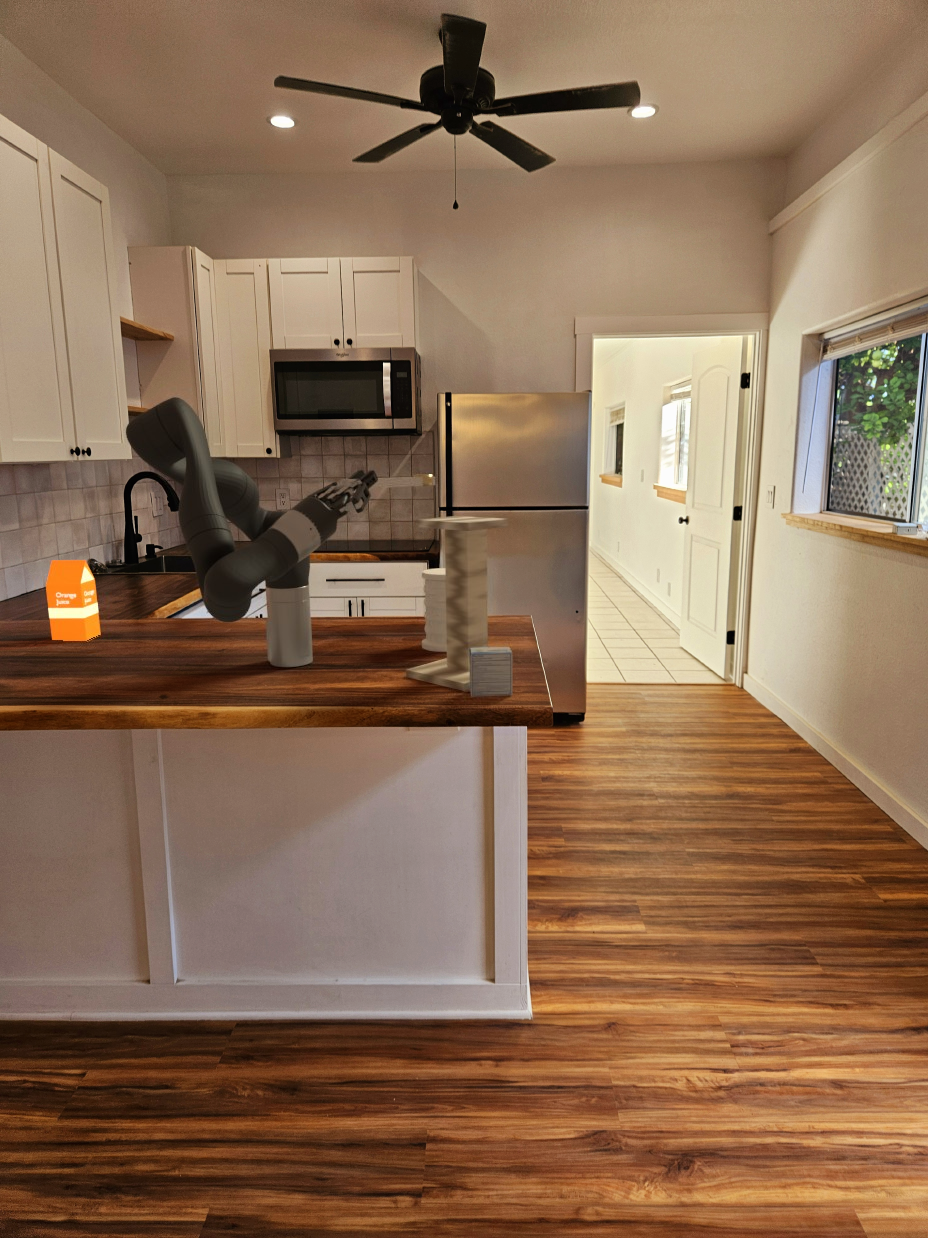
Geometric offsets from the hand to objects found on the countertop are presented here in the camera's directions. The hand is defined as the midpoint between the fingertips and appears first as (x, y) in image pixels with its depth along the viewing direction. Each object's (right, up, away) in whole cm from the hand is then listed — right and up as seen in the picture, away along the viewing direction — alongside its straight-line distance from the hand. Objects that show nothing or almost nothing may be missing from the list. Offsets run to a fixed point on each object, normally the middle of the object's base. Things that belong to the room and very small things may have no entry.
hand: (368, 474), depth 140 cm
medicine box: (+22, -40, +13) cm, 47 cm away
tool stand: (+15, -37, +25) cm, 47 cm away
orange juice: (-82, -30, +64) cm, 108 cm away
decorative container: (+12, -32, +51) cm, 61 cm away
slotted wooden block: (+4, -1, +4) cm, 6 cm away
